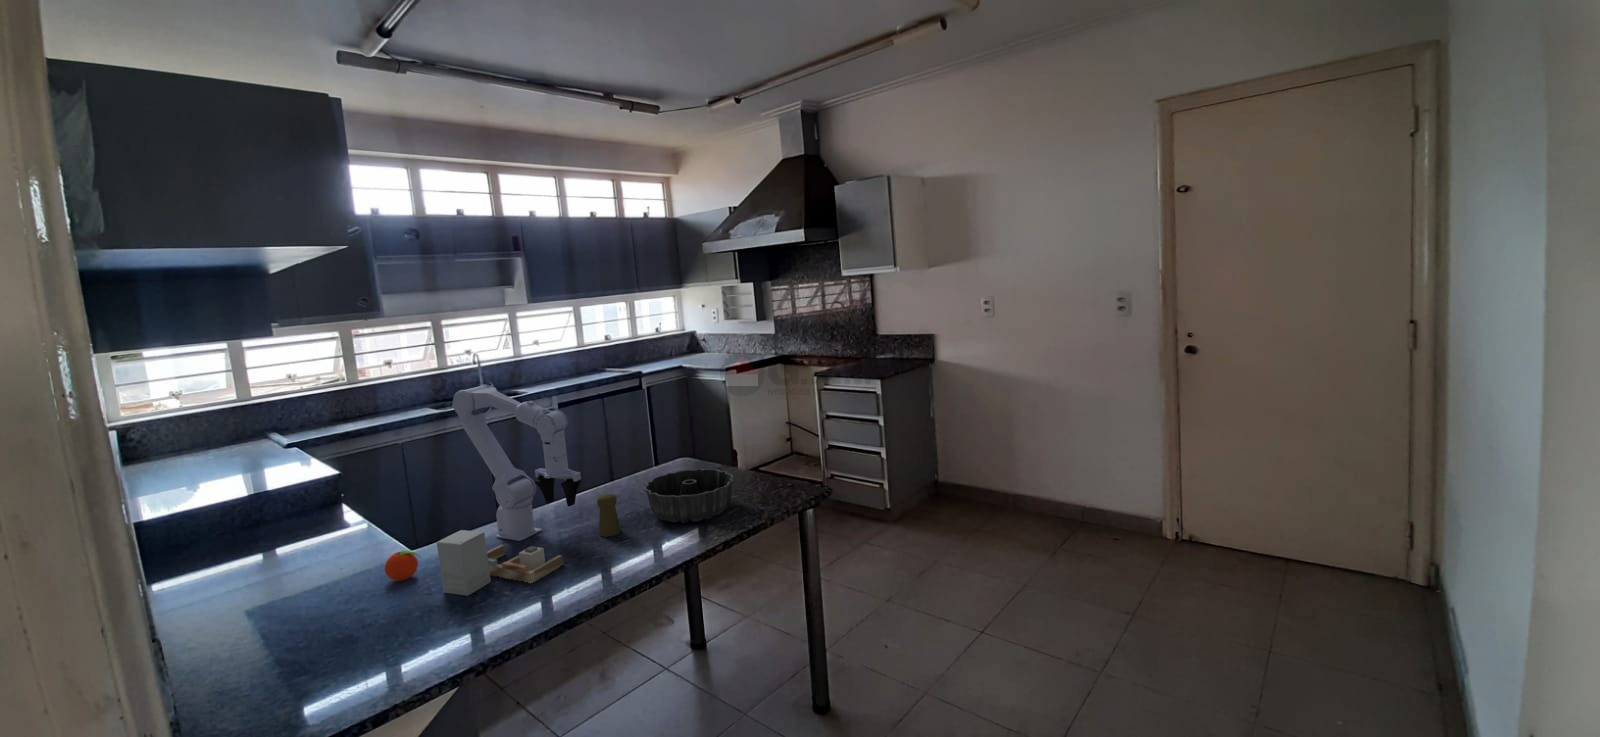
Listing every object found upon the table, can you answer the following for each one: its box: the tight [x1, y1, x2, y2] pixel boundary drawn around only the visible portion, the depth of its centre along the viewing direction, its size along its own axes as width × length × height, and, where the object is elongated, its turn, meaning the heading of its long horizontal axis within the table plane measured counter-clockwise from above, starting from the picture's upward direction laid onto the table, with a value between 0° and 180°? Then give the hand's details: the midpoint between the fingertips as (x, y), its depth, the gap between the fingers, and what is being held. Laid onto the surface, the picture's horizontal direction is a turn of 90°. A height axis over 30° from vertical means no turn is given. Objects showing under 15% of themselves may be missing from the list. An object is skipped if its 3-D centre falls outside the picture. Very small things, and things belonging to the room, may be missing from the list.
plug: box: [518, 545, 546, 571], centre depth 159 cm, size 4×4×6 cm
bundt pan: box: [643, 468, 734, 524], centre depth 192 cm, size 26×26×10 cm
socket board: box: [487, 544, 564, 584], centre depth 160 cm, size 21×10×4 cm, turn 66°
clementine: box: [384, 550, 422, 582], centre depth 157 cm, size 8×7×7 cm
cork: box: [596, 493, 622, 538], centre depth 180 cm, size 6×6×11 cm
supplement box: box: [436, 529, 491, 597], centre depth 151 cm, size 7×7×13 cm
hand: (560, 503), depth 177 cm, fingers open, 7 cm apart
